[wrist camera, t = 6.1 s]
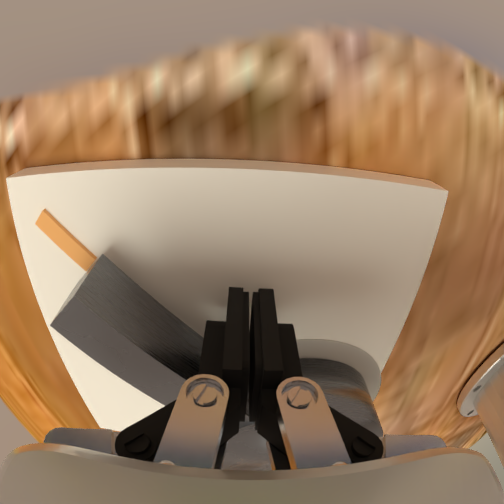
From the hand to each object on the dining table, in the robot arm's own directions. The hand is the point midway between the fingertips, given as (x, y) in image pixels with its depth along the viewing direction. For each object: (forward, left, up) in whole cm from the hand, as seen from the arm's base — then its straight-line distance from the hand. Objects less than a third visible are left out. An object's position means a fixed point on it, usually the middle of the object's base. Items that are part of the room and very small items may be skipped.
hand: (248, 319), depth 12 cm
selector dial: (0, +4, -1) cm, 5 cm away
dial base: (+1, +4, -3) cm, 4 cm away
